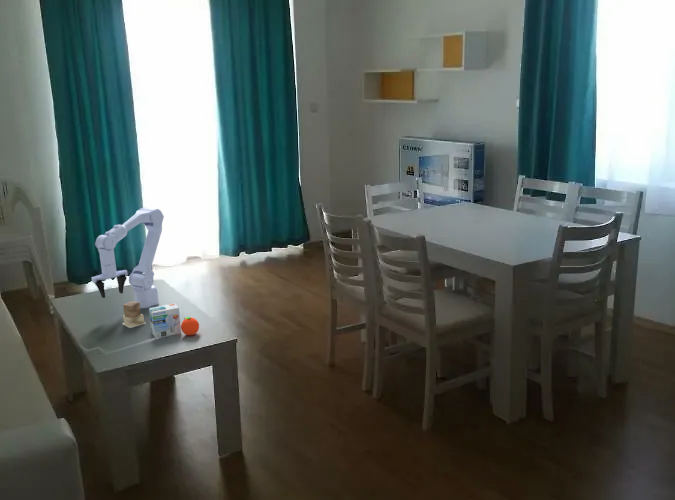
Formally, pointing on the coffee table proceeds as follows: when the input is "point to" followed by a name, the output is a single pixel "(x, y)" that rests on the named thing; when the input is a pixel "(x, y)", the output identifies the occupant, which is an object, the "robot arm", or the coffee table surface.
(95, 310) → the coffee table surface
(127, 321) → the cream square block
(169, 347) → the coffee table surface
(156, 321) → the light bulb box
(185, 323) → the clementine
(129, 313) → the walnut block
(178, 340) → the coffee table surface
